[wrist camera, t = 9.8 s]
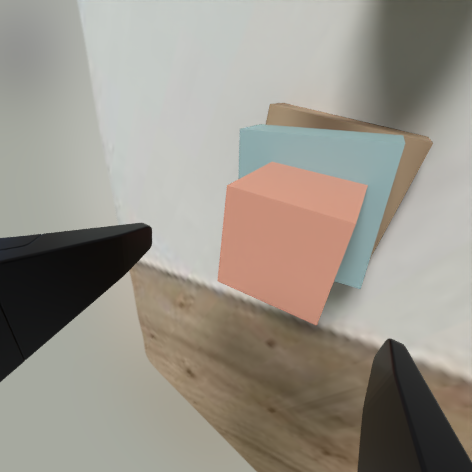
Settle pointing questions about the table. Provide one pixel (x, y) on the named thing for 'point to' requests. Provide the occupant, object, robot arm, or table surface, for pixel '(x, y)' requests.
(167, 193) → the table surface
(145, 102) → the table surface
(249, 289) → the brick cube
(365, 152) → the tower top
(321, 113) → the tower base
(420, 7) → the table surface
